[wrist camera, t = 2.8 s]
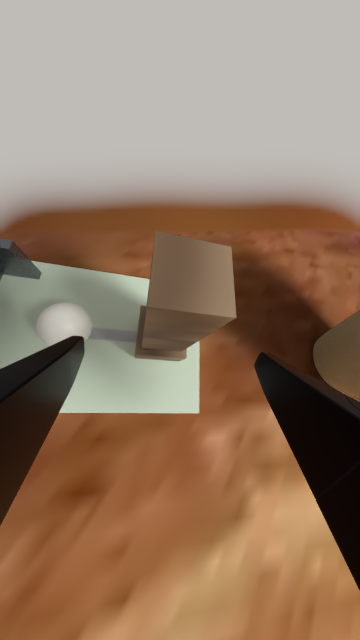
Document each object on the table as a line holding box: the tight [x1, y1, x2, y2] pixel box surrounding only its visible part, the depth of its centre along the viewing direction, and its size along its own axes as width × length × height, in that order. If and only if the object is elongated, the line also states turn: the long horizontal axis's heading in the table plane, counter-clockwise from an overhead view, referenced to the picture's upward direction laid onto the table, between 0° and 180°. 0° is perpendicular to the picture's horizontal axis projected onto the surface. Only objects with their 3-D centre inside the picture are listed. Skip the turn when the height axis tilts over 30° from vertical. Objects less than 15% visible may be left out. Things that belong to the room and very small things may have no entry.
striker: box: [135, 231, 236, 361], centre depth 13 cm, size 4×4×12 cm
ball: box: [36, 302, 92, 346], centre depth 15 cm, size 4×4×4 cm
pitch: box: [0, 261, 199, 413], centre depth 18 cm, size 21×14×1 cm, turn 87°
